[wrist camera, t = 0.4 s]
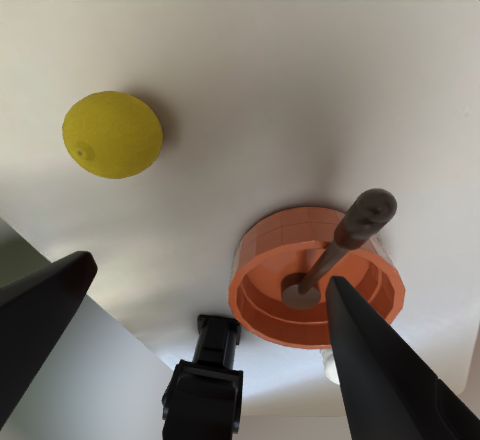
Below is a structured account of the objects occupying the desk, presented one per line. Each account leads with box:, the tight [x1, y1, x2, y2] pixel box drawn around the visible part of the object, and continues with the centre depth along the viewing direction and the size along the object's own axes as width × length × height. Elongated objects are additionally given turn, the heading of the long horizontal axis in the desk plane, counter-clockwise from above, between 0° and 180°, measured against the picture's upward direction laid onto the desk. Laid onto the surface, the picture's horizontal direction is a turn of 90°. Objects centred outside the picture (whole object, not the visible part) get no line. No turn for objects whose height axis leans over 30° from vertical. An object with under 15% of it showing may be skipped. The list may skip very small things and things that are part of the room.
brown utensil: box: [281, 188, 397, 310], centre depth 19 cm, size 19×4×10 cm, turn 178°
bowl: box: [228, 207, 405, 349], centre depth 24 cm, size 16×16×6 cm
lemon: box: [62, 91, 163, 179], centre depth 16 cm, size 6×6×8 cm
